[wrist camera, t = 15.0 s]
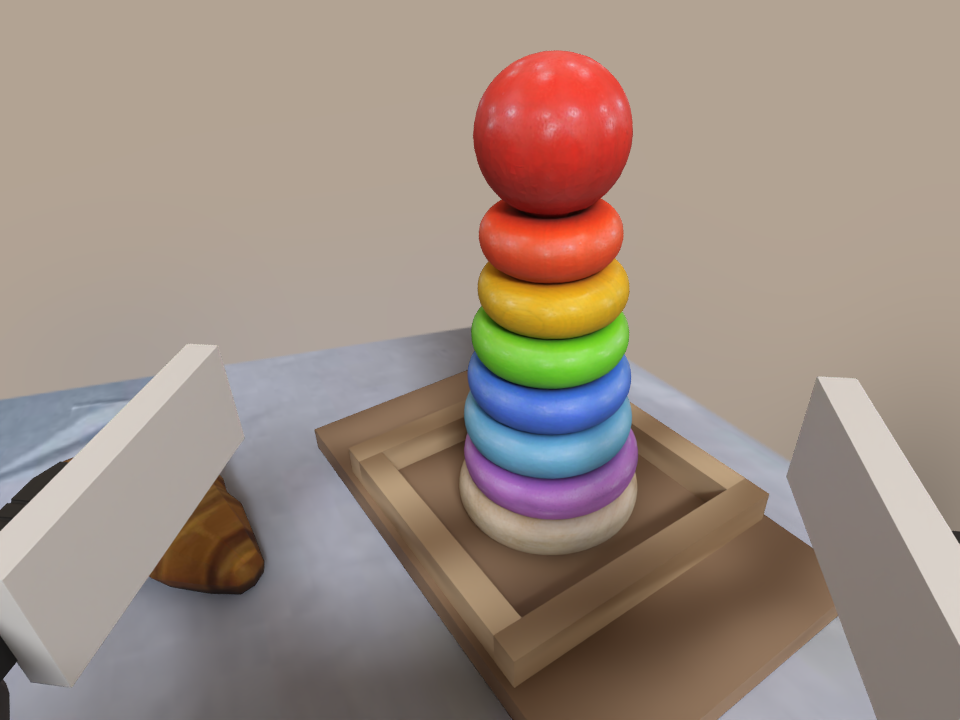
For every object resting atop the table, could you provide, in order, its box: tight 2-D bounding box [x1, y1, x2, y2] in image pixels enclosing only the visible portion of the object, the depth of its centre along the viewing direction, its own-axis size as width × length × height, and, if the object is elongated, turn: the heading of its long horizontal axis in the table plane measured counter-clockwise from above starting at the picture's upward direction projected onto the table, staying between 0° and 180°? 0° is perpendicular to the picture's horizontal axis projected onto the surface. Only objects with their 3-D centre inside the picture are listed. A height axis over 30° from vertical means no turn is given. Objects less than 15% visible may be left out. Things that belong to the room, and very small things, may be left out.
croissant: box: [63, 457, 264, 594], centre depth 29 cm, size 14×7×5 cm, turn 61°
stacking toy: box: [459, 51, 638, 555], centre depth 25 cm, size 8×8×19 cm
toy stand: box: [315, 370, 838, 720], centre depth 30 cm, size 22×14×3 cm, turn 34°
